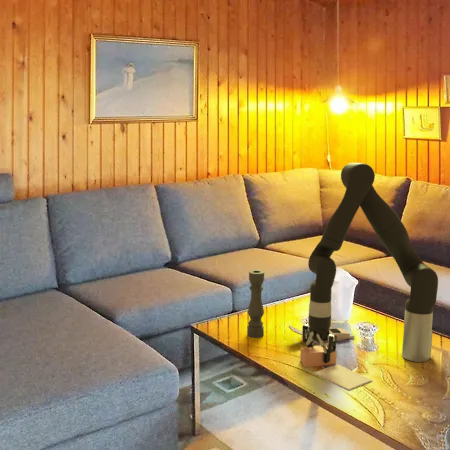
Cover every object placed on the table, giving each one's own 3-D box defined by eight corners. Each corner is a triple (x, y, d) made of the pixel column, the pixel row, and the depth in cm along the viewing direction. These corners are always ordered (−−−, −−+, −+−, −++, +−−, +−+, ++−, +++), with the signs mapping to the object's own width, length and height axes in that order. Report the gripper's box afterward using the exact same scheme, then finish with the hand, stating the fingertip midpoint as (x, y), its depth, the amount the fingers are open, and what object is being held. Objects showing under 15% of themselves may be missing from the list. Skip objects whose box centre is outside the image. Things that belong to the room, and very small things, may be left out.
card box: (330, 359, 218) (331, 345, 217) (335, 364, 213) (336, 351, 212) (300, 361, 216) (300, 347, 215) (305, 367, 211) (305, 353, 210)
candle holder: (245, 333, 241) (246, 270, 236) (260, 331, 243) (261, 269, 238) (250, 339, 235) (251, 274, 230) (265, 337, 237) (267, 273, 232)
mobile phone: (287, 325, 234) (348, 319, 240) (287, 340, 235) (348, 334, 241) (293, 331, 228) (356, 325, 234) (293, 346, 229) (355, 340, 236)
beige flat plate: (337, 365, 212) (337, 364, 212) (371, 381, 201) (372, 379, 201) (313, 373, 206) (313, 372, 206) (348, 390, 194) (348, 389, 194)
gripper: (343, 316, 208) (341, 363, 211) (312, 305, 219) (310, 349, 222) (327, 321, 203) (325, 368, 206) (297, 309, 214) (295, 354, 218)
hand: (318, 358), depth 214 cm, fingers open, 7 cm apart
